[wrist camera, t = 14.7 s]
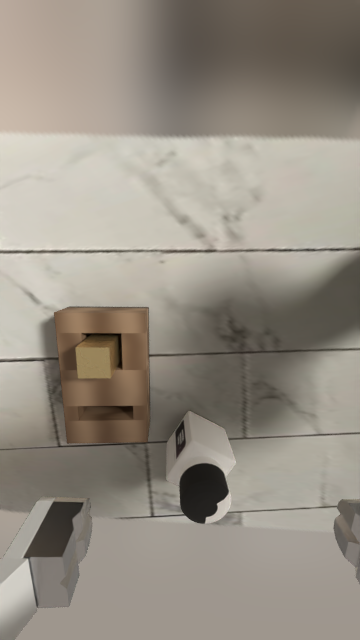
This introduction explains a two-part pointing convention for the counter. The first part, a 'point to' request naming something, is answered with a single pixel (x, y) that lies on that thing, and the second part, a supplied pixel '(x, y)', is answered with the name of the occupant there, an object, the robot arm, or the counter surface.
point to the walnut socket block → (105, 393)
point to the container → (200, 468)
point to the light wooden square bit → (99, 355)
